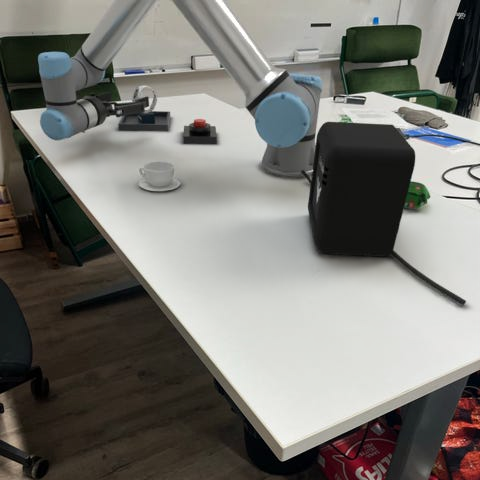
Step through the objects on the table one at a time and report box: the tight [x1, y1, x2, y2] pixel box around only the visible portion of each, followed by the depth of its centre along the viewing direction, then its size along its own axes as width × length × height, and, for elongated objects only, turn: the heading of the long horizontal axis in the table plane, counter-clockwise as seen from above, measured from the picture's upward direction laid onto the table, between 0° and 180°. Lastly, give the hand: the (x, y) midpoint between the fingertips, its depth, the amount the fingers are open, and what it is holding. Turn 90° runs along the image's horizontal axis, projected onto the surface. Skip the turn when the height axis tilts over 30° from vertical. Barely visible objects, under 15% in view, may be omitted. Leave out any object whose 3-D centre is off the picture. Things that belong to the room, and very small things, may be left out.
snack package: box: [404, 180, 431, 210], centre depth 111 cm, size 7×16×5 cm, turn 68°
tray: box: [117, 110, 171, 132], centre depth 160 cm, size 18×16×2 cm
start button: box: [193, 118, 207, 127], centre depth 146 cm, size 4×4×2 cm
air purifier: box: [307, 121, 416, 258], centre depth 92 cm, size 20×15×20 cm
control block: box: [182, 122, 218, 145], centre depth 148 cm, size 12×10×4 cm
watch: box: [131, 85, 158, 124], centre depth 157 cm, size 6×8×11 cm
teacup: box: [138, 160, 181, 192], centre depth 115 cm, size 10×10×5 cm
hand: (128, 98), depth 148 cm, fingers open, 13 cm apart
